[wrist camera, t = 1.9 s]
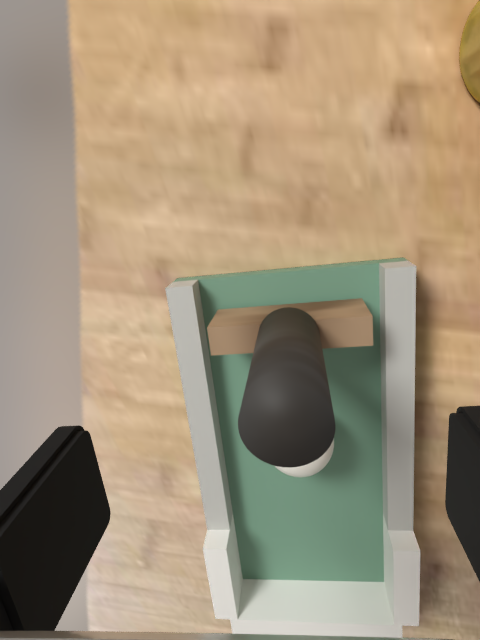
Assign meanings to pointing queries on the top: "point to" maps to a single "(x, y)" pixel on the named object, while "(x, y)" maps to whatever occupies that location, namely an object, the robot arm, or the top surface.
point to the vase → (471, 53)
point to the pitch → (321, 488)
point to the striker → (289, 372)
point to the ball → (309, 465)
